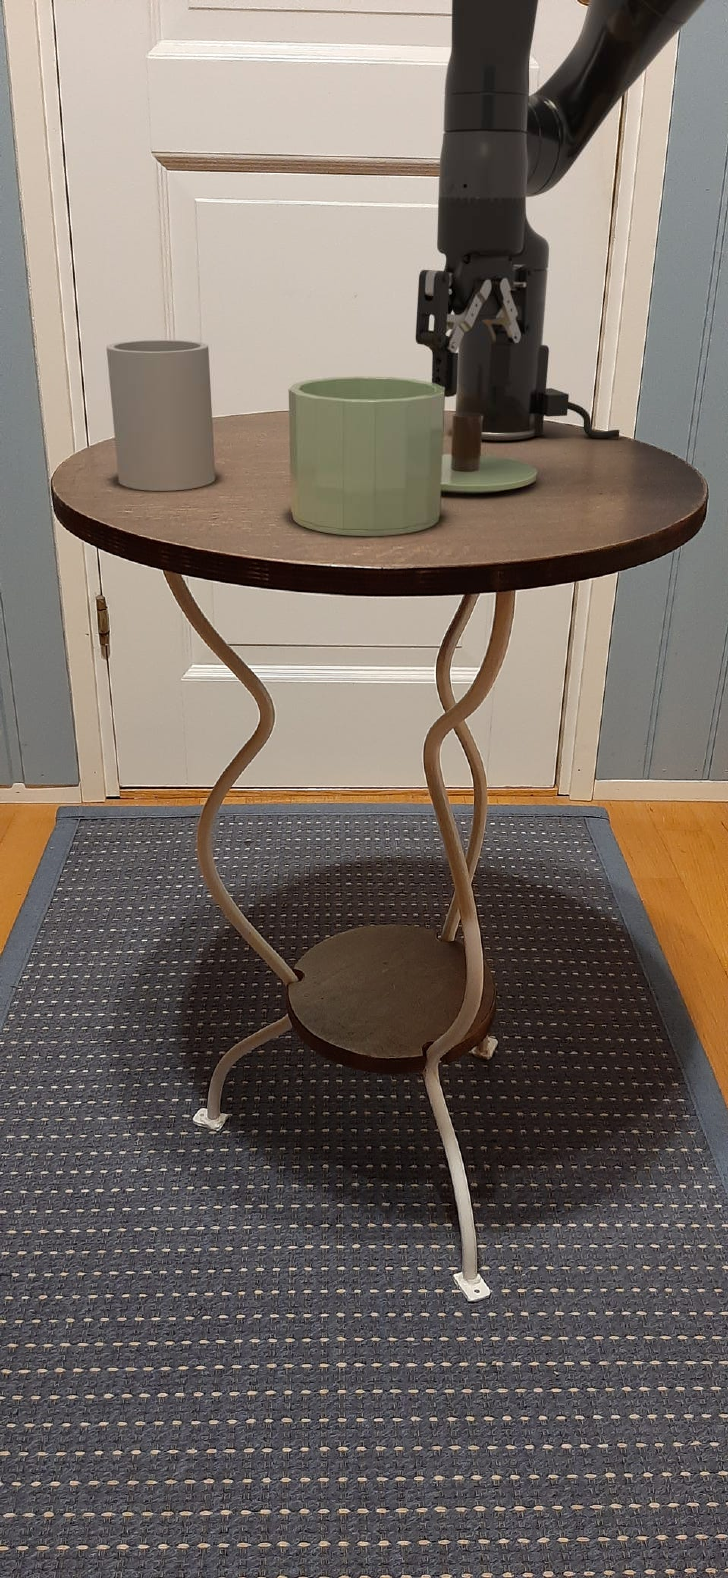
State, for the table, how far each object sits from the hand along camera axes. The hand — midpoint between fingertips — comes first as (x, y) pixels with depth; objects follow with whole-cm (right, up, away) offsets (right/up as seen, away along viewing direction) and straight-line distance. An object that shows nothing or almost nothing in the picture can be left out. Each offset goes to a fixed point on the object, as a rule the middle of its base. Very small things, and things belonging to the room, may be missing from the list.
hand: (473, 390), depth 106 cm
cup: (-29, -7, +4) cm, 30 cm away
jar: (-10, -14, -8) cm, 19 cm away
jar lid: (0, -7, +4) cm, 8 cm away
